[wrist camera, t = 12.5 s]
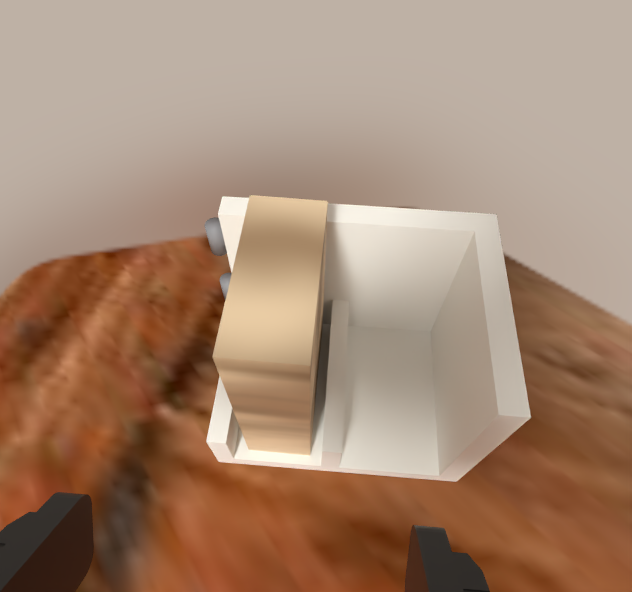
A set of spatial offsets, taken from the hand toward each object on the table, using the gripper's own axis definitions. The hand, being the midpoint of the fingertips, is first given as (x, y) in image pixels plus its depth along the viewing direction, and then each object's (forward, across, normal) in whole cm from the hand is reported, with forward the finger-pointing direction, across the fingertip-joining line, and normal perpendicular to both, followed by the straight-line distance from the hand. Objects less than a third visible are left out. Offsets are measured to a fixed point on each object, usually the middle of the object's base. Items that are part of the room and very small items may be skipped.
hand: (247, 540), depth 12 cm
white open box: (+18, -2, +4) cm, 19 cm away
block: (+17, +1, +3) cm, 18 cm away
